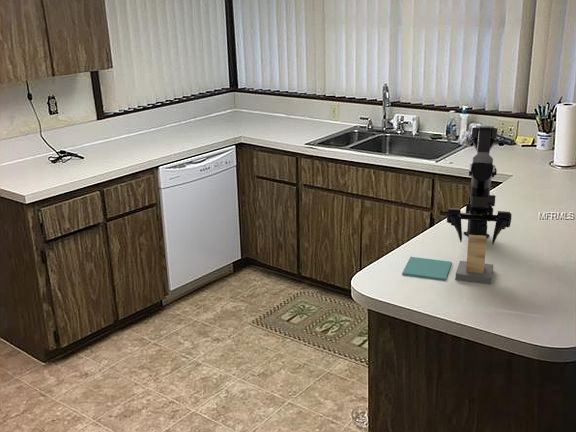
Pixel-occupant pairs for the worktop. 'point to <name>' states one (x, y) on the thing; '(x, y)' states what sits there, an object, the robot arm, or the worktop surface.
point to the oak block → (476, 253)
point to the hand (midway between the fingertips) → (476, 242)
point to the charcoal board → (474, 274)
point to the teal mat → (427, 268)
